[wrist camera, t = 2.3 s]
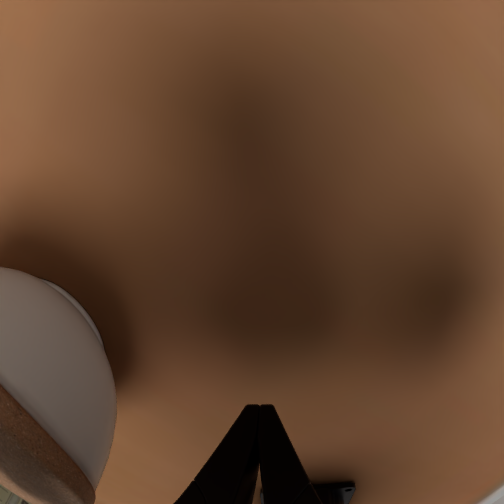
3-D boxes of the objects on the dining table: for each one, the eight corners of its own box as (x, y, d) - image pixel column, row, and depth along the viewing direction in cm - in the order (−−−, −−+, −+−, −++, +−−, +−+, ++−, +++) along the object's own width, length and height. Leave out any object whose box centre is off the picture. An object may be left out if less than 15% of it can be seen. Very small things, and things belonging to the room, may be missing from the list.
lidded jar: (168, 421, 15) (119, 573, 6) (24, 386, 16) (-42, 481, 7) (125, 227, 11) (-75, 406, 2) (-33, 233, 12) (-154, 312, 3)
